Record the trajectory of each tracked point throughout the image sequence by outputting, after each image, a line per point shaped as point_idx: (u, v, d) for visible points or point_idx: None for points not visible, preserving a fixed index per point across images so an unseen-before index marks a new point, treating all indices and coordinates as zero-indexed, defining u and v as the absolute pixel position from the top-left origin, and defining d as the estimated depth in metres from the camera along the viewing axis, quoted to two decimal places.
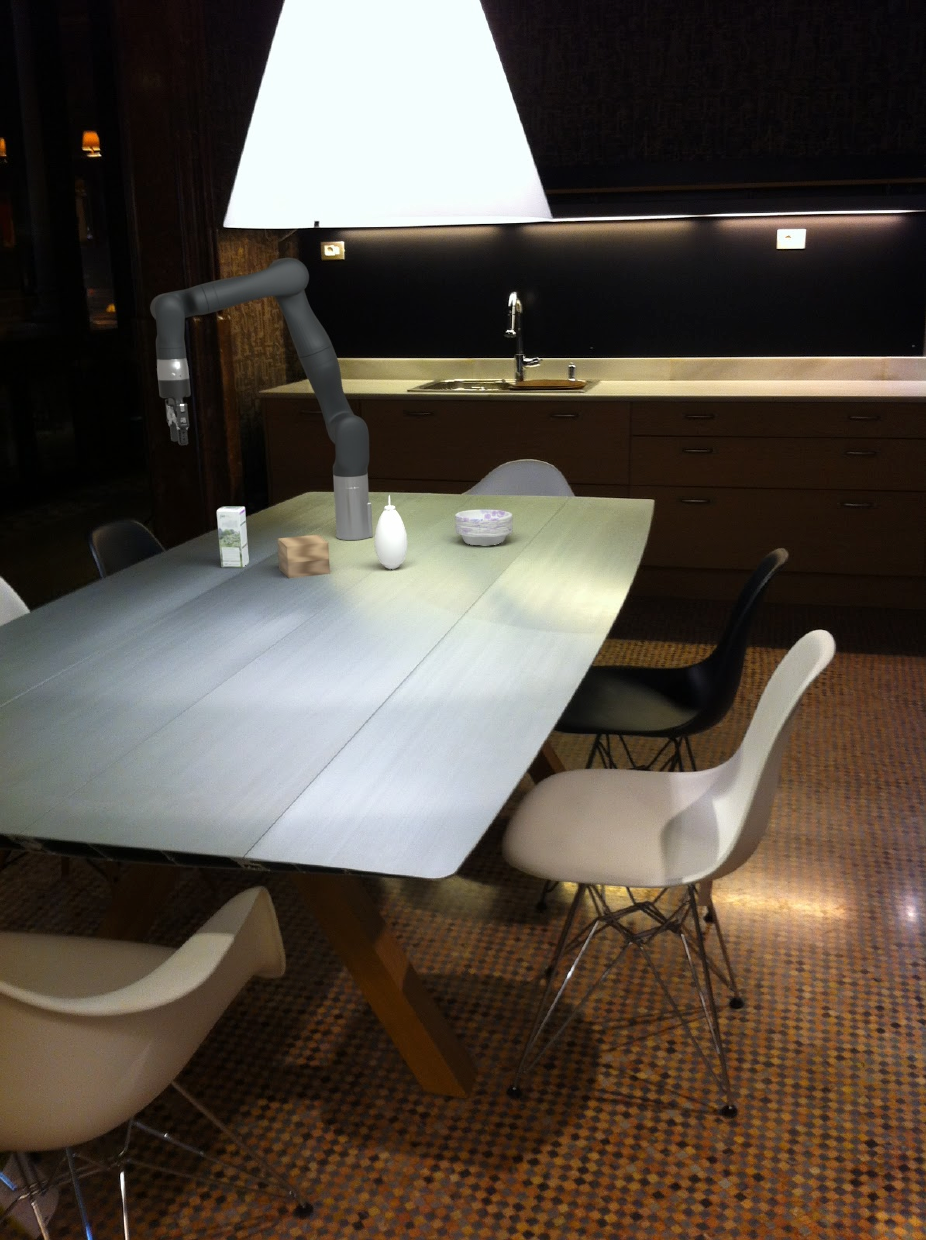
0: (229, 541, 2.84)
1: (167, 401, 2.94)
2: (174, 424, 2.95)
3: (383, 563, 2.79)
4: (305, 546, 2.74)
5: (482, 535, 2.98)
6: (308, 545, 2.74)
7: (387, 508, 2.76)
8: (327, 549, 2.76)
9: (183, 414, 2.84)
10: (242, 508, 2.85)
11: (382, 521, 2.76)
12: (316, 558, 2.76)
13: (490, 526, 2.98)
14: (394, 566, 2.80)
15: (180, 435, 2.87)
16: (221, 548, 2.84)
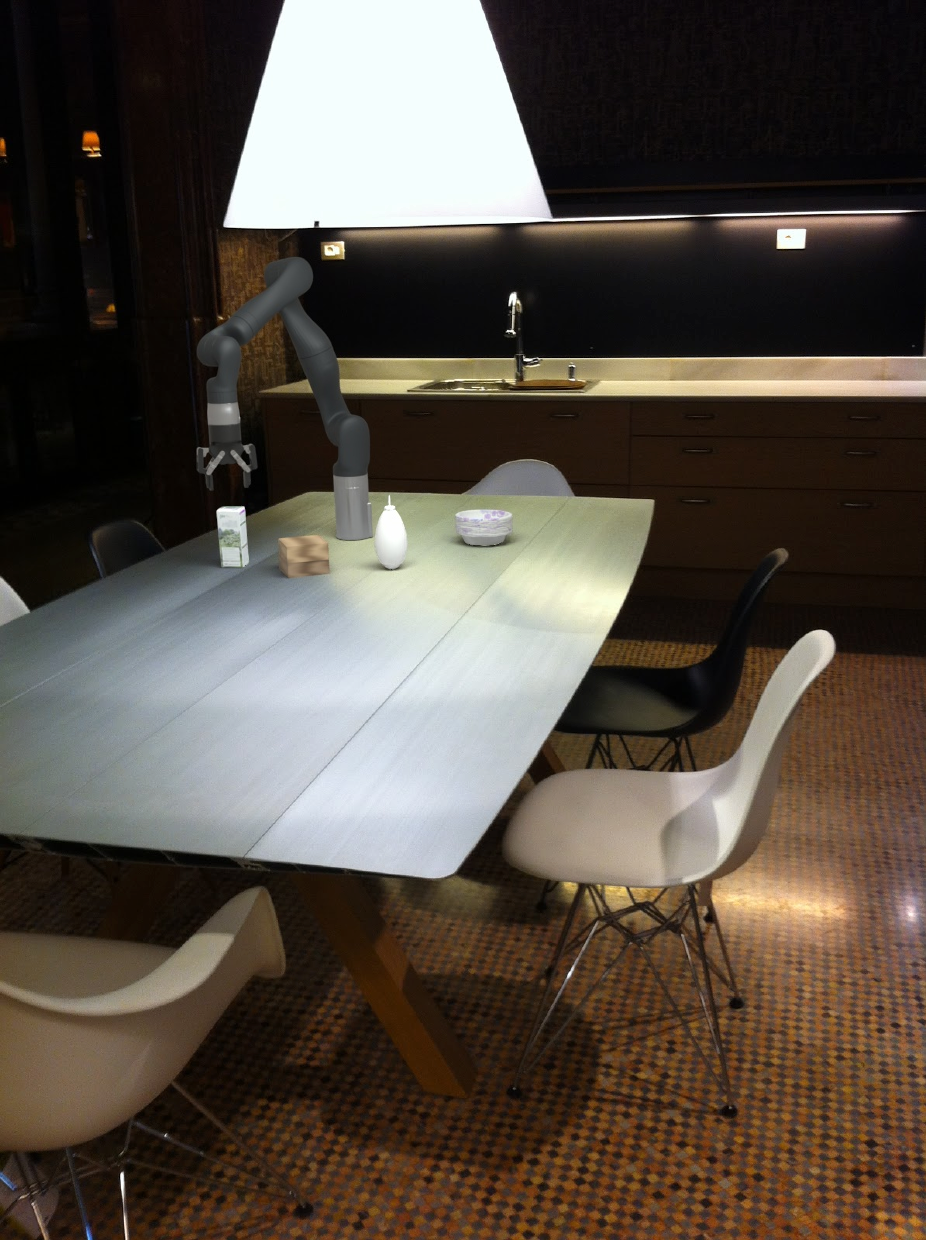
0: (229, 541, 2.84)
1: (202, 449, 2.77)
2: None
3: (383, 563, 2.79)
4: (305, 546, 2.74)
5: (482, 535, 2.98)
6: (308, 545, 2.74)
7: (387, 508, 2.76)
8: (327, 549, 2.76)
9: None
10: (242, 508, 2.85)
11: (382, 521, 2.76)
12: (316, 558, 2.76)
13: (490, 526, 2.98)
14: (394, 566, 2.80)
15: (249, 477, 2.83)
16: (221, 548, 2.84)
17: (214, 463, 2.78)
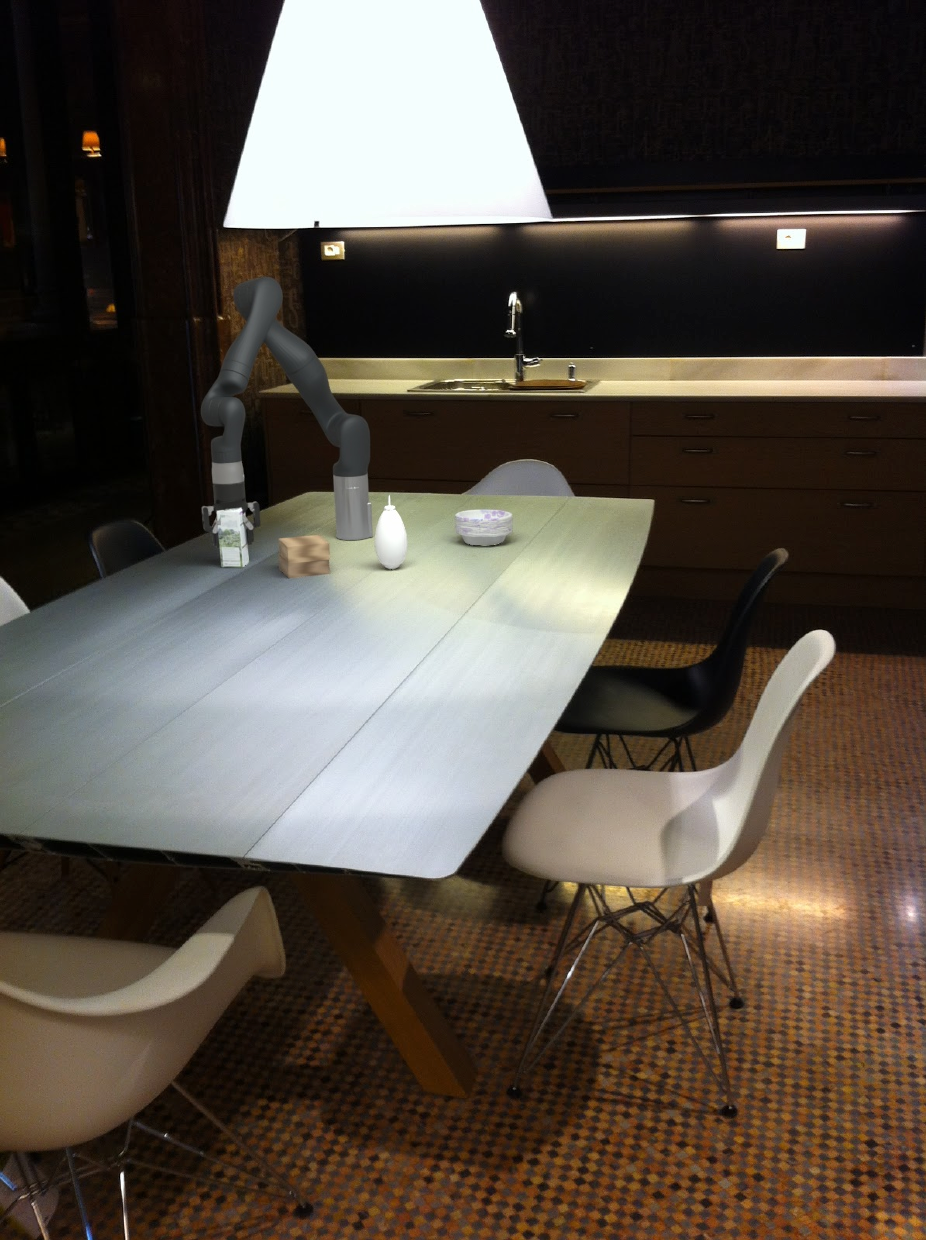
0: (229, 541, 2.84)
1: (207, 508, 2.81)
2: None
3: (383, 563, 2.79)
4: (306, 546, 2.74)
5: (482, 535, 2.98)
6: (309, 545, 2.74)
7: (387, 508, 2.76)
8: (327, 549, 2.76)
9: None
10: None
11: (382, 521, 2.76)
12: (317, 558, 2.76)
13: (490, 526, 2.98)
14: (394, 566, 2.80)
15: (252, 534, 2.87)
16: (221, 548, 2.84)
17: (219, 521, 2.82)
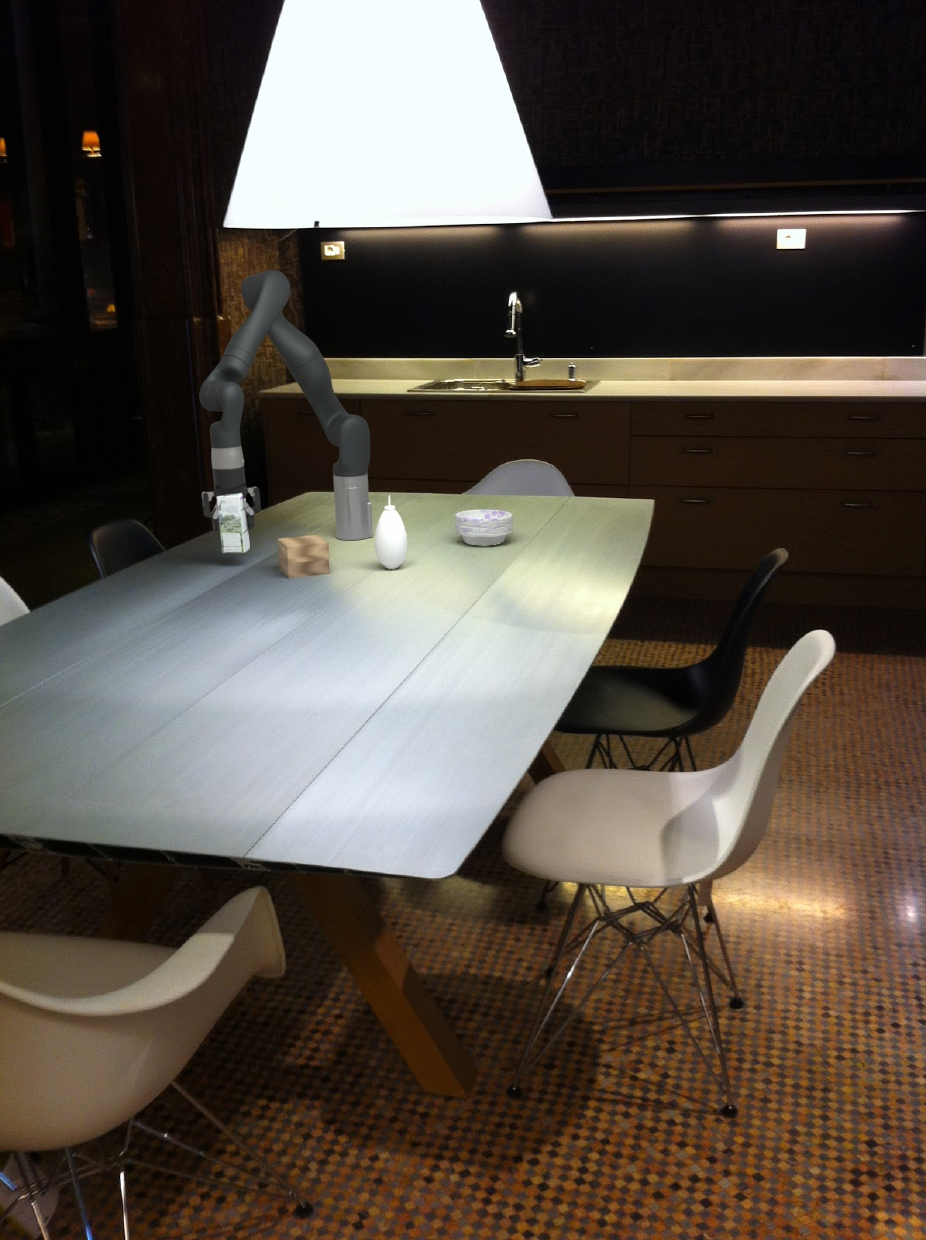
0: (230, 527, 2.83)
1: (207, 494, 2.80)
2: None
3: (383, 563, 2.79)
4: (305, 546, 2.74)
5: (482, 535, 2.98)
6: (308, 545, 2.74)
7: (387, 508, 2.76)
8: (327, 549, 2.76)
9: None
10: None
11: (382, 521, 2.76)
12: (316, 558, 2.76)
13: (490, 526, 2.98)
14: (394, 566, 2.80)
15: (252, 520, 2.86)
16: (222, 534, 2.83)
17: (220, 507, 2.81)
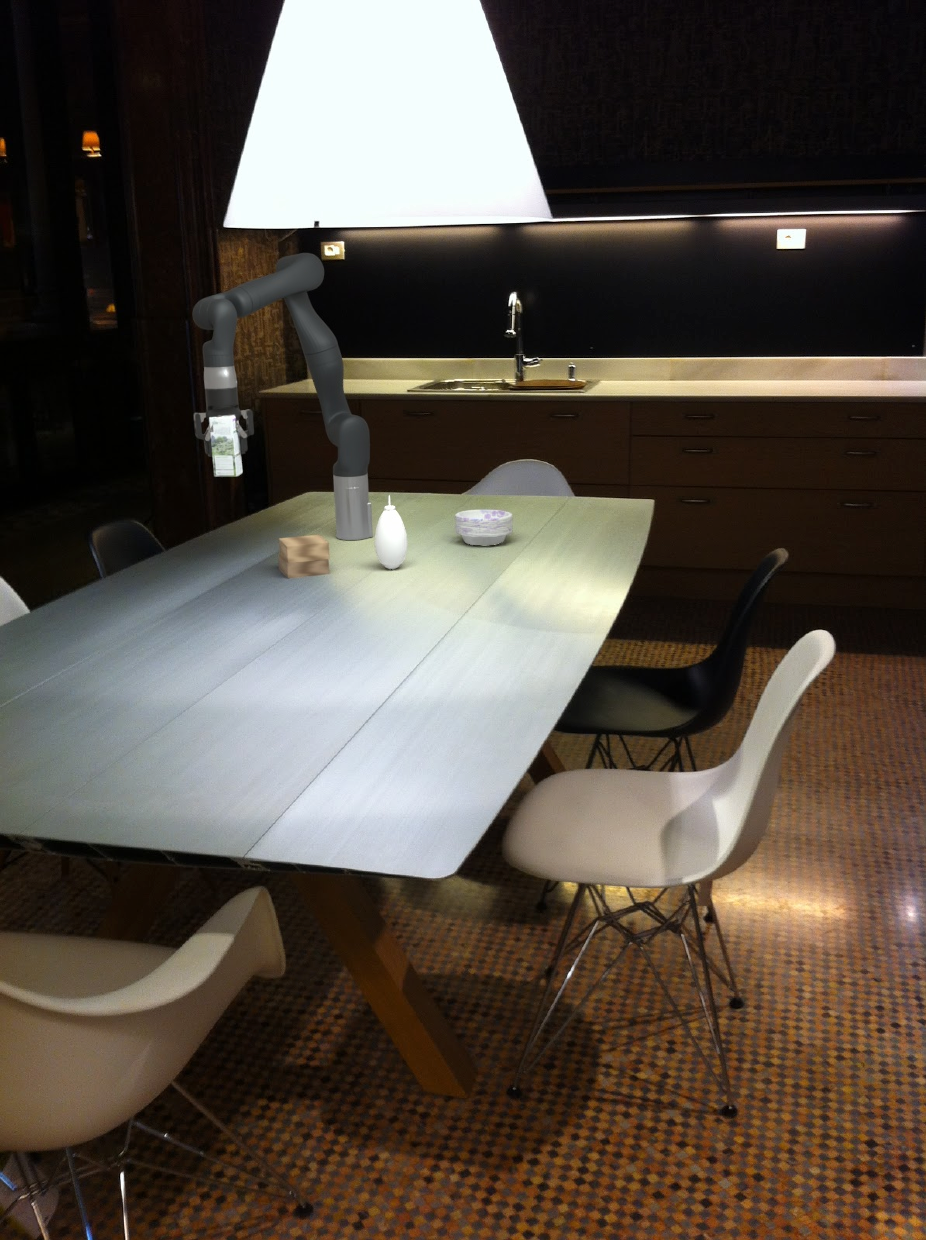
0: (222, 449, 2.77)
1: (199, 415, 2.75)
2: None
3: (383, 563, 2.79)
4: (305, 546, 2.74)
5: (482, 535, 2.98)
6: (308, 545, 2.74)
7: (387, 508, 2.76)
8: (327, 549, 2.76)
9: None
10: None
11: (382, 521, 2.76)
12: (316, 558, 2.76)
13: (490, 526, 2.98)
14: (394, 566, 2.80)
15: (245, 443, 2.81)
16: (214, 456, 2.78)
17: (212, 428, 2.76)
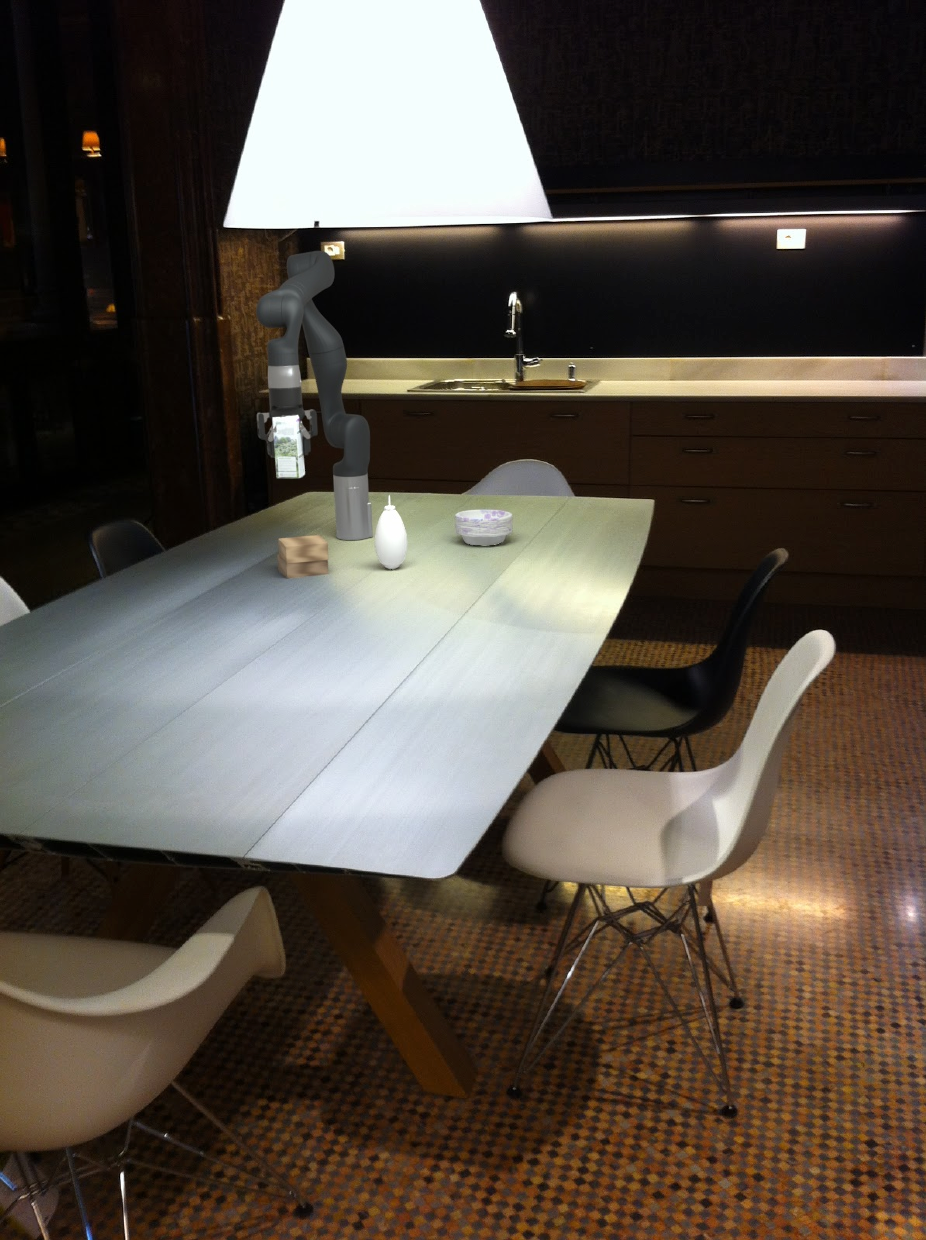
0: (285, 450, 2.70)
1: None
2: None
3: (383, 563, 2.79)
4: (304, 546, 2.73)
5: (482, 535, 2.98)
6: (307, 545, 2.74)
7: (387, 508, 2.76)
8: (326, 549, 2.75)
9: None
10: None
11: (382, 521, 2.76)
12: (315, 558, 2.75)
13: (490, 526, 2.98)
14: (394, 566, 2.80)
15: (308, 444, 2.74)
16: (277, 457, 2.71)
17: (275, 429, 2.69)
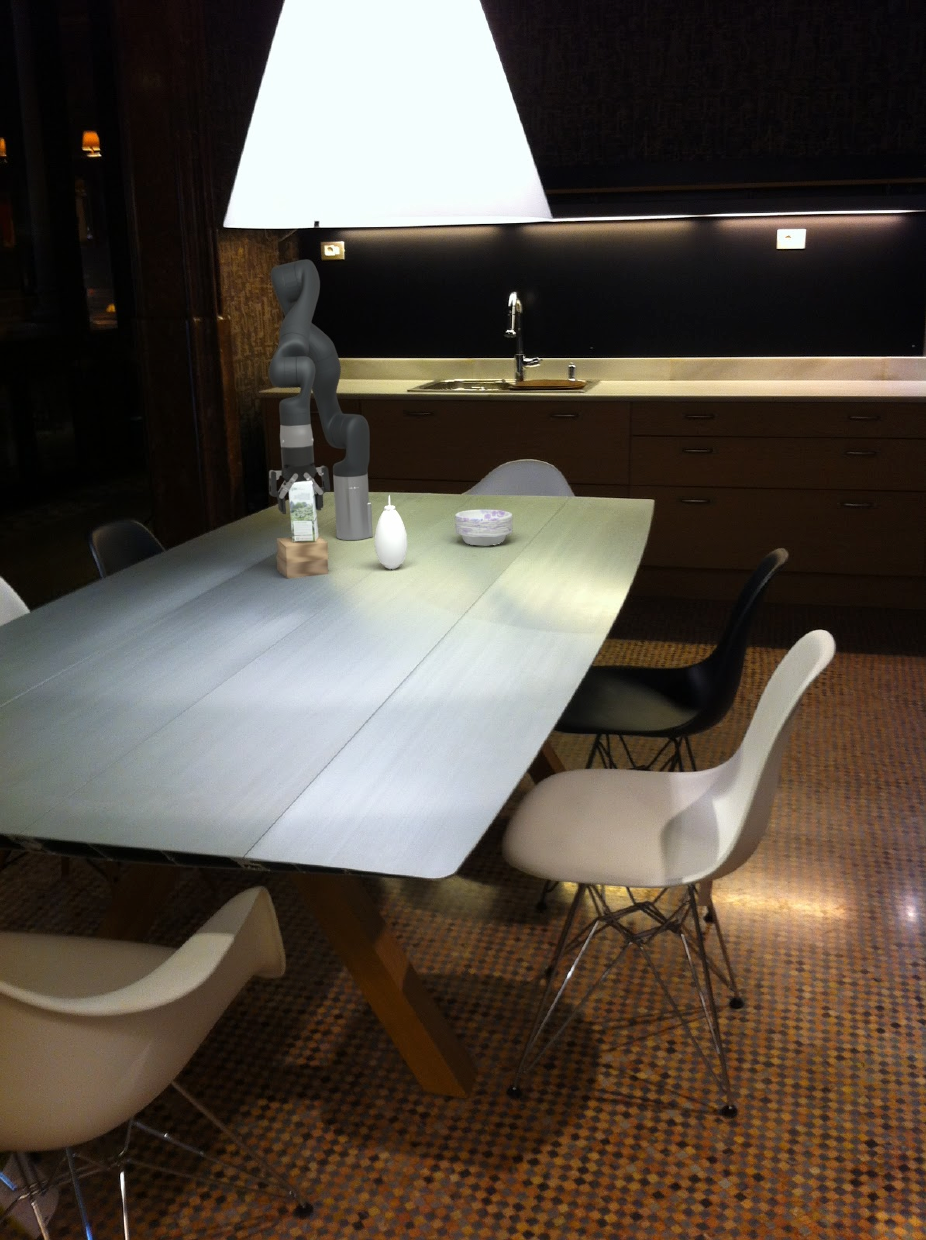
0: (301, 514, 2.74)
1: None
2: None
3: (383, 563, 2.79)
4: (304, 546, 2.74)
5: (482, 535, 2.98)
6: (307, 545, 2.74)
7: (387, 508, 2.76)
8: (326, 549, 2.76)
9: None
10: None
11: (382, 521, 2.76)
12: (315, 558, 2.76)
13: (490, 526, 2.98)
14: (394, 566, 2.80)
15: (321, 500, 2.77)
16: (292, 522, 2.75)
17: (287, 486, 2.72)
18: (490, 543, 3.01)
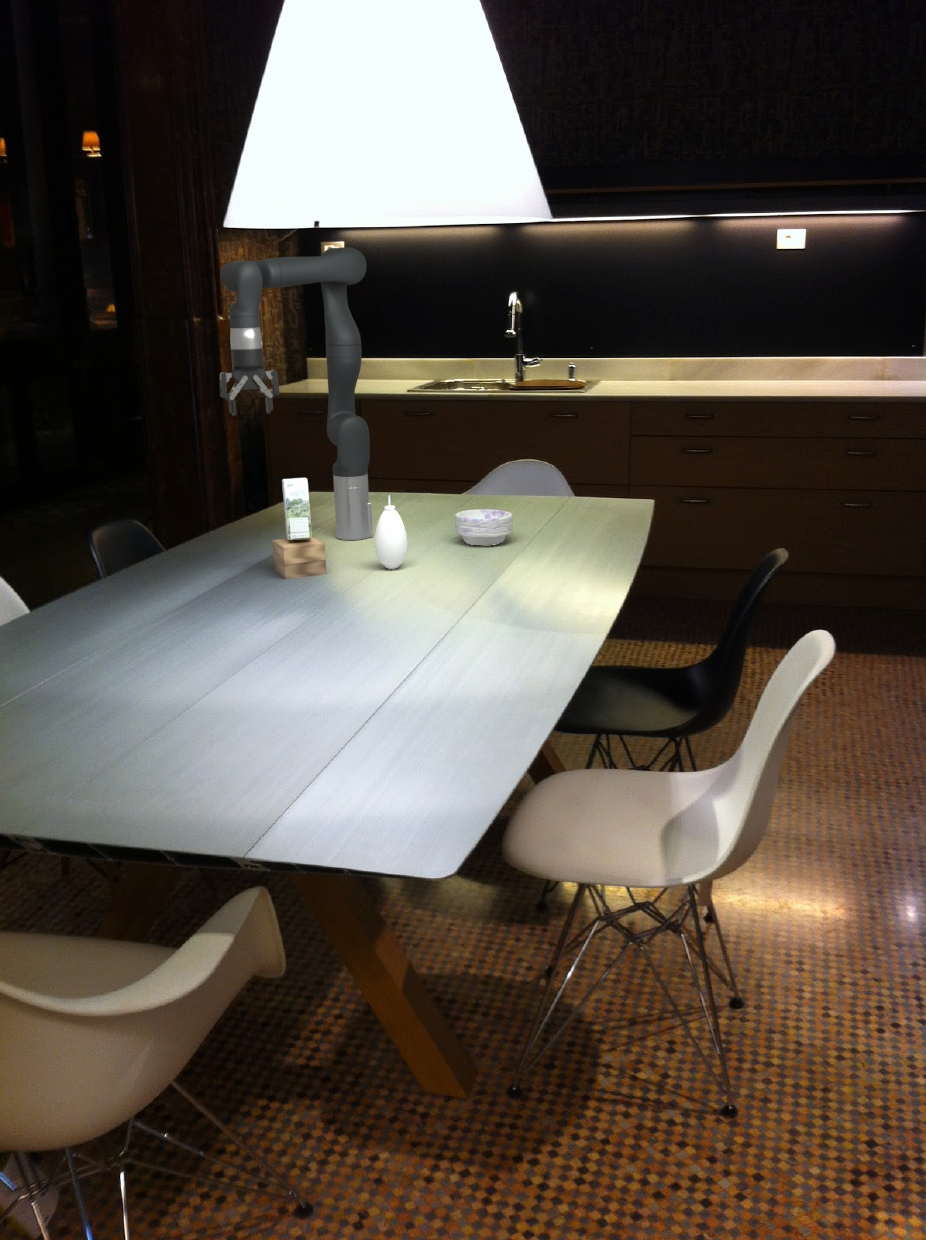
0: (297, 511, 2.74)
1: None
2: None
3: (383, 563, 2.79)
4: (301, 547, 2.73)
5: (482, 535, 2.98)
6: (304, 546, 2.73)
7: (387, 508, 2.76)
8: (323, 549, 2.76)
9: None
10: None
11: (382, 521, 2.76)
12: (312, 559, 2.75)
13: (490, 526, 2.98)
14: (394, 566, 2.80)
15: (271, 403, 2.87)
16: (289, 519, 2.74)
17: (237, 388, 2.82)
18: (490, 543, 3.01)
